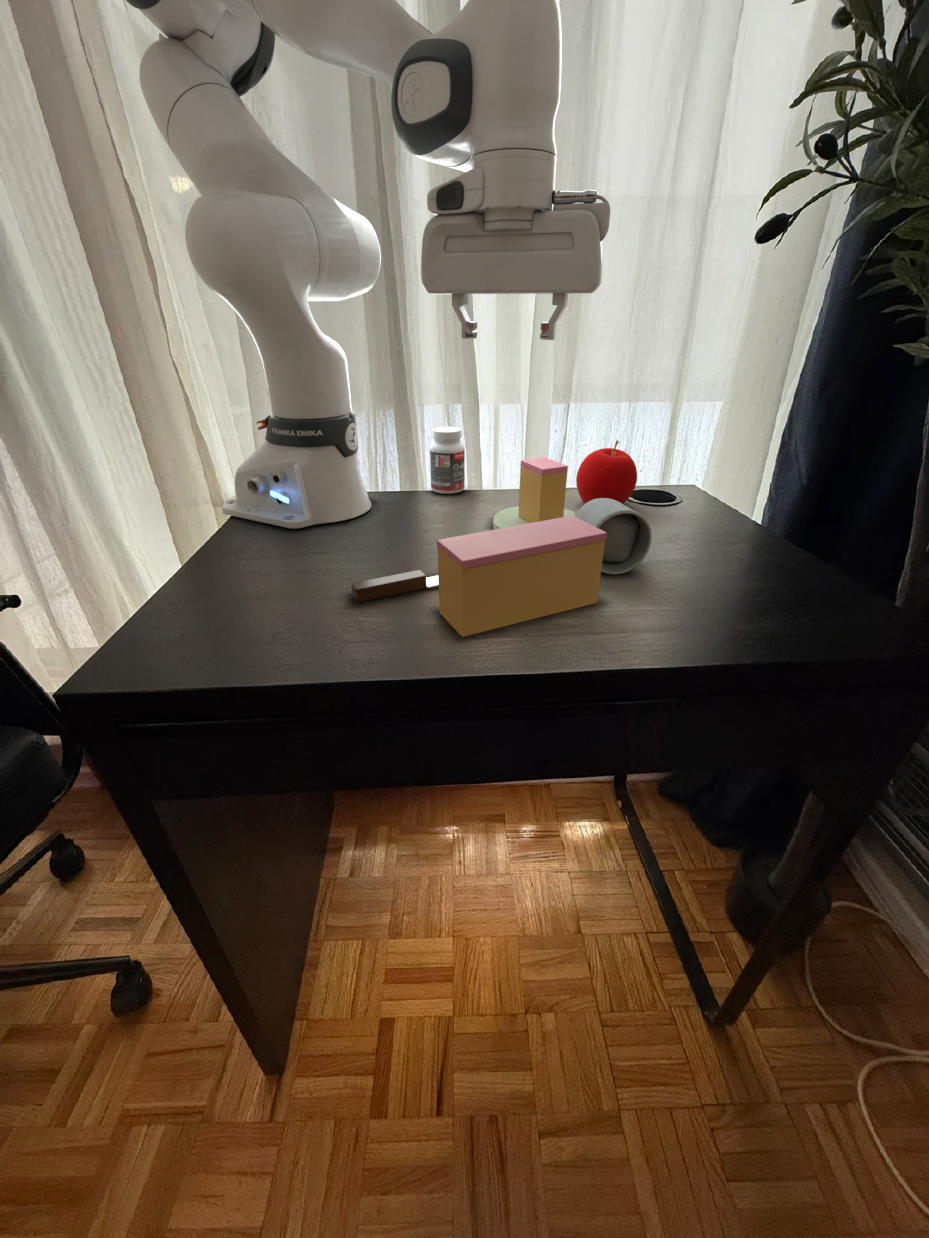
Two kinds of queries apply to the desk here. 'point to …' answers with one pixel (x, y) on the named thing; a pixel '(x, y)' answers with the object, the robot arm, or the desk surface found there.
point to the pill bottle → (447, 461)
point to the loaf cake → (518, 573)
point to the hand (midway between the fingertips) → (507, 339)
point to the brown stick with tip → (392, 585)
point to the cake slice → (542, 489)
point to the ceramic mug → (618, 533)
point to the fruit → (606, 475)
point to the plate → (515, 517)
